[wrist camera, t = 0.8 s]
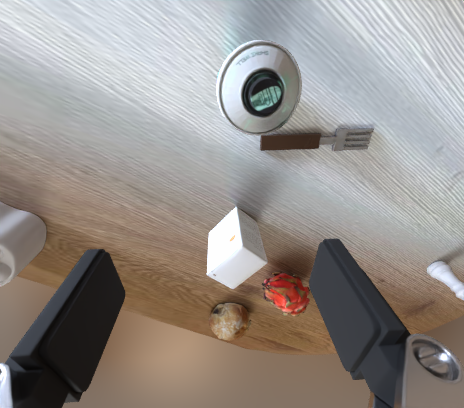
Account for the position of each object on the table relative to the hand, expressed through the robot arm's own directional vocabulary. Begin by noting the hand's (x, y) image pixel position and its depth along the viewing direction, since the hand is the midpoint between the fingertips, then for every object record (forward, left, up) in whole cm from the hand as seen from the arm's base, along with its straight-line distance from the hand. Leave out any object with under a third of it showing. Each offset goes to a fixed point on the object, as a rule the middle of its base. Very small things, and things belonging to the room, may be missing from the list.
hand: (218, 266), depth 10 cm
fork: (+2, +15, -26) cm, 30 cm away
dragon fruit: (+34, +13, -26) cm, 44 cm away
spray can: (-6, +3, -26) cm, 27 cm away
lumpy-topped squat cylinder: (+17, -38, -26) cm, 49 cm away
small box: (+18, +2, -26) cm, 31 cm away
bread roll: (+46, +1, -26) cm, 52 cm away
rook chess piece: (+33, +50, -26) cm, 65 cm away
